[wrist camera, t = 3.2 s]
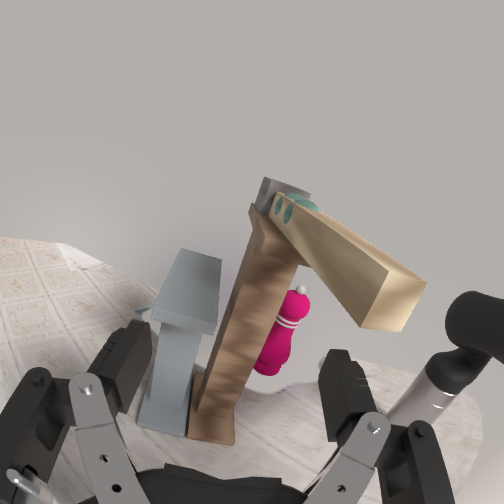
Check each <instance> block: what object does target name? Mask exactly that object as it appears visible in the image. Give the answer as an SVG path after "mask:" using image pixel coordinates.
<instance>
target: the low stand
mask: <svg viewBox="0 0 504 504" xmlns="http://www.w3.org/2000/svg"><path fill="white" fill-rule="evenodd" d="M221 262H222V260H221V259H218V258H214V257H211V256H207V255H204V254H200V253H197V252H193V251H189V250H186V249H183V248H182V249H181V250H180V252H179V254H178V256H177V258H176V260H175V262H174V264H173V266H172V268H171V270H170V272H169V274H168V276H167V278H166V280H165V282H164V284H163V286H162V289H161V291H160V293H159V295H158V297H157V299H156V301H155V304H154V306H153V310H152V316H151V319H154V320H157V321H161V322H162V323H161V328H160V334H159V340H158V346H157V352H156V358H155V361H154V365H153V368H152V371H151V375H150V378H149V381H148V385H147V388H146V392H145V395H144V399H143V402H142V406H141V410H140V413H139V417H138V421H137V426H140V427H144V428H147V429H151V430H154V431H158V432H162V433H166V434H171V435H175V436H179V437H184V434H185V426H186V417H187V409H188V401H189V393H190V385H191V378H192V368H193V365H194V361H195V358H196V354H197V351H198V347H199V344H200V341H201V337H202V334H203V333H204V334H208V335H214V332H215V328H216V326H217V316H218V301H219V287H220V275H221Z"/></svg>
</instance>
